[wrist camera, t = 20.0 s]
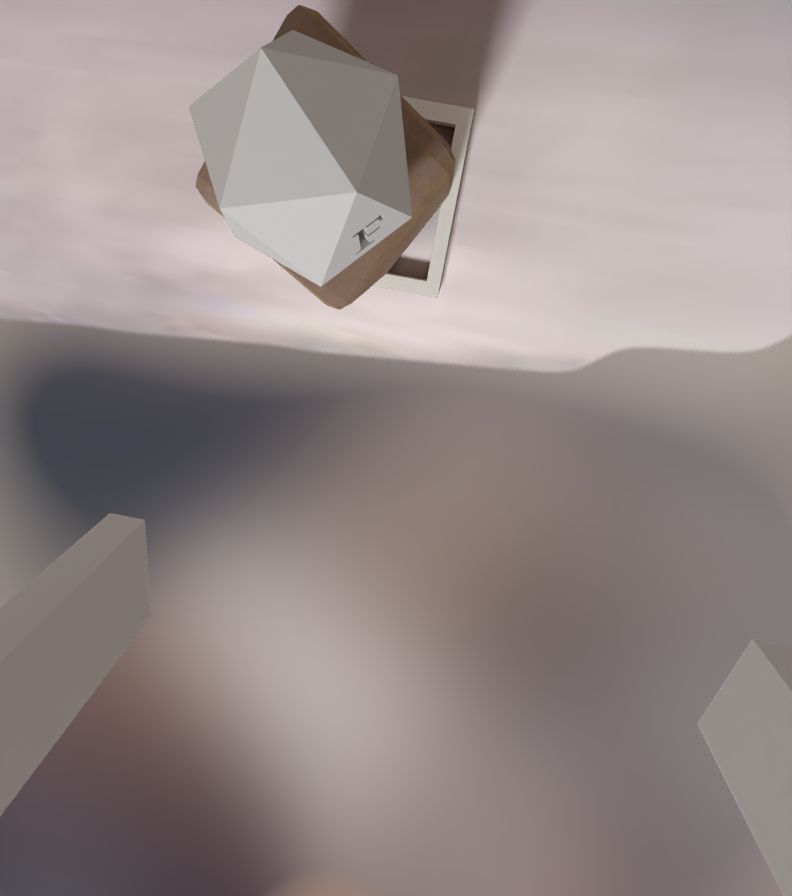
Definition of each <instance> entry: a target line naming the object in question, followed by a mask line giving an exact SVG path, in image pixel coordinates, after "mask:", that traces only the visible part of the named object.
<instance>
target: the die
mask: <svg viewBox="0 0 792 896" xmlns="http://www.w3.org/2000/svg"><path fill="white" fill-rule="evenodd" d="M189 108H190V112H191V115H192V118H193V122H194V125H195V128H196V132H197V135H198V138H199V142H200V145H201V148H202V152H203V155H204V158H205V162H206V165H207V168H208V172H209V175H210V178H211V182H212V185H213V188H214V192H215V195H216V198H217V202H218V205H219V208H220V210H221V212H222V214H223V216H224V218H225V220H226V221H227V223H228V225H229V227H230V229H231V230H232V232H233V234H234V236H235V237H236V238H238V239H239V240H241V241H243V242H245V243H246V244H248V245H250V246H251V247H253V248H255V249H257V250H258V251H260V252H262V253H263V254H265V255H267V256H269V257H270V258H272V259H274V260H275V261H277V262H279V263H281V264H282V265H284V266H286V267H287V268H289V269H291V270H293V271H294V272H296V273H298V274H300V275H301V276H303V277H305V278H306V279H308V280H310V281H312V282H313V283H315V284H317V285H318V286H320V287H321V286H323V285H324V284H325V283H327V282H328V281H329V280H330V279H332V278H333V277H334V276H336V275H337V274H338V273H340V272H341V271H342V270H344V269H345V268H346V267H348V266H349V265H350V264H352V263H353V262H354V261H355V260H357V259H358V258H359V257H361V256H362V255H363V254H365V253H366V252H367V251H369V250H370V249H371V248H373V247H374V246H375V245H377V244H378V243H379V242H380V241H382V240H383V239H384V238H386V237H387V236H388V235H390V234H391V233H392V232H394V231H395V230H396V229H398V228H399V227H400V226H402V225H403V224H404V223H405V222H407V221H408V220H409V219H411V218H412V209H411V199H410V189H409V179H408V169H407V159H406V149H405V139H404V129H403V119H402V109H401V99H400V89H399V79H398V75H396V74H394V73H392V72H390V71H387V70H385V69H383V68H380V67H378V66H376V65H373V64H371V63H369V62H366V61H364V60H362V59H359V58H357V57H355V56H352V55H350V54H348V53H345V52H343V51H341V50H338V49H336V48H334V47H332V46H329V45H327V44H325V43H322V42H320V41H318V40H315V39H313V38H311V37H308V36H306V35H304V34H301V33H299V32H297V31H294V30H291V31H290V32H288V33H286V34H284V35H283V36H281V37H279V38H277V39H276V40H274V41H272V42H270V43H269V44H267V45H265V46H263V47H262V48H260V49H259V50H258V51H257V52H255V53H254V54H253V55H252V56H250V57H249V58H248V59H247V60H245V61H244V62H243V63H242V64H241V65H239V66H238V67H237V68H236V69H234V70H233V71H232V72H231V73H229V74H228V75H227V76H226V77H224V78H223V79H222V80H221V81H219V82H218V83H217V84H216V85H215V86H213V87H212V88H211V89H210V90H208V91H207V92H206V93H205V94H203V95H202V96H201V97H200V98H198V99H197V100H196V101H195V102H193V103H192V104H191V105H190V106H189Z"/></svg>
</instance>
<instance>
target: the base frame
mask: <svg viewBox="0 0 792 896" xmlns="http://www.w3.org/2000/svg"><path fill="white" fill-rule="evenodd" d="M402 97H403V98H404V99H405V100H406V101H407V102H408V103H409V104H410V105H411V106H412V107H413V108H414V109H415V110H416V111H417V112H418V113H419V114H420V115H421V116H422V117H423V118H424V119H425V120H426V121H427V122H428V123H432V124H437V125H443V126H448V127H454V128H455V130H454V136H453V141H452V147H451V150H452V152H453V155H454V157H455V167H454V173H453V180H452V186H451V189H450V192H449V195H448V197H447V198H446V199H445V200H444V202H443V203H442V204H441V206H440V212H439V217H438V223H437V228H436V233H435V239H434V244H433V250H432V255H431V260H430V266H429V271H428V277H427V279H421V278H416V277H411V276H405V275H400V274H394V273H389V272H387V274H385V275H384V276H383V277H382V278H381V279H379V280H378V281H377V282H376V283H375V284H374V285H372V286H377V287H382V288H387V289H393V290H398V291H404V292H409V293H414V294H420V295H425V296H430V297H436V298H437V297H438V292H439V287H440V282H441V277H442V271H443V266H444V261H445V256H446V251H447V246H448V241H449V236H450V231H451V226H452V221H453V215H454V210H455V205H456V200H457V195H458V190H459V185H460V180H461V175H462V170H463V164H464V159H465V154H466V149H467V144H468V139H469V134H470V129H471V124H472V119H473V114H474V109H472V108H467V107H461V106H456V105H450V104H445V103H439V102H434V101H428V100H423V99H417V98H412V97H406V96H402ZM281 269H284V268H282V267H281Z"/></svg>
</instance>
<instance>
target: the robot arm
mask: <svg viewBox="0 0 792 896" xmlns="http://www.w3.org/2000/svg"><path fill="white" fill-rule="evenodd" d="M150 616H151V613H150V598H149V581H148V565H147V548H146V532H145V520H142V519H137V518H132V517H127V516H122V515H117V514H111V513H110V514H108V515H107V516H106V517H105V518H104V519H103V520H101V521H100V522H99V523H98V524H97V525H96V526H95V527H93V528H92V529H91V530H90V531H89V532H88V533H86V534H85V535H84V536H83V537H82V538H81V539H80V540H78V541H77V542H76V543H75V544H74V545H72V546H71V547H70V548H69V549H68V550H67V551H66V552H64V553H63V554H62V555H61V556H60V557H59V558H57V559H56V560H55V561H54V562H53V563H52V564H51V565H49V566H48V567H47V568H46V569H45V570H44V571H42V572H41V573H40V574H39V575H38V576H37V577H35V578H34V579H33V580H32V581H31V582H30V583H28V584H27V585H26V586H25V587H24V588H23V589H22V590H20V591H19V592H18V593H17V594H16V595H15V596H13V597H12V598H11V599H10V600H9V601H8V602H7V603H5V604H4V605H3V606H2V607H1V608H0V816H1V815H2V813H3V812H4V810H5V809H6V808H7V806H8V805H9V804H10V802H11V801H12V800H13V799H14V797H15V796H16V795H17V793H18V792H19V791H20V789H21V788H22V787H23V785H24V784H25V783H26V781H27V780H28V779H29V777H30V776H31V775H32V773H33V772H34V771H35V769H36V768H37V767H38V765H39V764H40V763H41V761H42V760H43V758H44V757H45V756H46V755H47V753H48V752H49V751H50V749H51V748H52V747H53V745H54V744H55V743H56V741H57V740H58V738H59V737H60V736H61V735H62V733H63V732H64V731H65V729H66V728H67V726H68V725H69V724H70V723H71V721H72V720H73V719H74V717H75V716H76V715H77V713H78V712H79V711H80V709H81V708H82V707H83V705H84V704H85V703H86V701H87V700H88V699H89V697H90V696H91V695H92V693H93V692H94V691H95V689H96V688H97V687H98V685H99V684H100V683H101V681H102V680H103V679H104V677H105V676H106V675H107V673H108V672H109V671H110V669H111V668H112V667H113V666H114V664H115V663H116V662H117V660H118V659H119V658H120V656H121V655H122V653H123V652H124V651H125V649H126V648H127V647H128V646H129V644H130V643H131V642H132V640H133V639H134V638H135V636H136V635H137V634H138V632H139V631H140V630H141V628H142V627H143V626H144V624H145V623H146V621H147V620H148V619H149V618H150ZM697 725H698V727H699V729H700V731H701V733H702V735H703V737H704V739H705V741H706V743H707V745H708V747H709V749H710V751H711V753H712V755H713V757H714V759H715V761H716V763H717V765H718V767H719V769H720V771H721V773H722V775H723V777H724V779H725V781H726V783H727V785H728V787H729V789H730V791H731V793H732V795H733V797H734V799H735V801H736V803H737V805H738V807H739V809H740V811H741V813H742V815H743V817H744V819H745V821H746V823H747V825H748V827H749V829H750V831H751V833H752V835H753V837H754V839H755V841H756V843H757V845H758V847H759V849H760V851H761V853H762V855H763V857H764V859H765V861H766V862H767V865H768V866H769V868H770V871H771V873H772V875H773V877H774V879H775V881H776V883H777V884H778V886H779V889H780V891H781V893H782V895H783V896H792V649H791V648H790V647H789V646H788V645H784V644H778V643H773V642H768V641H763V640H757V639H752V640H751V641H750V643H749V645H748V646H747V648H746V649H745V651H744V652H743V654H742V655H741V657H740V658H739V660H738V662H737V663H736V665H735V666H734V668H733V669H732V671H731V673H730V674H729V675H728V677H727V679H726V680H725V682H724V683H723V685H722V686H721V688H720V689H719V691H718V692H717V694H716V696H715V697H714V699H713V700H712V702H711V704H710V705H709V706H708V708H707V710H706V711H705V713H704V714H703V716H702V717H701V719H700V720H699V722H698V723H697Z"/></svg>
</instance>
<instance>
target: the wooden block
mask: <svg viewBox="0 0 792 896" xmlns="http://www.w3.org/2000/svg"><path fill="white" fill-rule="evenodd" d="M291 30H294V31H297V32H299V33H301V34H304V35H306V36H308V37H311V38H313V39H315V40H318V41H320V42H322V43H325V44H327V45H329V46H332V47H334V48H336V49H338V50H341V51H343V52H345V53H348V54H350V55H352V56H355V57H357V58H359V59H362V60H364V61H366V60H365V59H364V58H363V57H362V56H361V55H360V54H359V53H358V52H357V51H356V50H355V49H354V48H353V47H352V46H351V45H350V44H349V43H348V42H347V41H346V40H345V39H344V38H343V37H342V36H341V35H340V34H339V33H338V32H337V31H336V30H335V29H334V28H333V27H332V26H331V25H330V24H329V23H328V22H327V21H326V20H325V19H324V18H323V17H322V16H321V15H320V14H319V13H318V12H317V11H315V10H312V9H309V8H307V7H304V6H301V5H298V6H297V7H296V8H295V9H294V10H292V11H291V12H290V13H289V14H288V15H287V16H286V18H285V20H284V22H283V24H282V25H281V27H280V29H279V31H278V32H277V34H276V36H275V38H274V40H276V39H277V38H279V37H281V36H283V35H284V34H286V33H288V32H290V31H291ZM274 40H273V41H274ZM366 62H367V61H366ZM400 99H401V109H402V119H403V129H404V139H405V149H406V159H407V169H408V179H409V189H410V199H411V209H412V218H411V219H409V220H408V221H407V222H405V223H404V224H403V225H402V226H400V227H399V228H398V229H396V230H395V231H394V232H392V233H391V234H390V235H388V236H387V237H386V238H384V239H383V240H382V241H380V242H379V243H378V244H377V245H375V246H374V247H373V248H371V249H370V250H369V251H367V252H366V253H365V254H363V255H362V256H361V257H359V258H358V259H357V260H355V261H354V262H353V263H352V264H350V265H349V266H348V267H346V268H345V269H344V270H342V271H341V272H340V273H338V274H337V275H336V276H334V277H333V278H332V279H330V280H329V281H328V282H327V283H325V284H324V285H323V286H321V287H320V286H318V285H317V284H315V283H313V282H312V281H310V280H308V279H306V278H305V277H303V276H301V275H300V274H298V273H296V272H294V271H293V270H291V269H289V268H287V267H286V266H284V265H282V264H281V263H279V262H277V261H275V260H274V259H273V260H274V261H275V262H277V263H278V264H279V265H280V266H281V267H282V268H284V269H285V270H286V271H287V272H288V273H289V274H291V275H292V276H293V277H294V278H295V279H297V280H298V281H299V282H300V283H301V284H302V285H304V286H305V287H306V288H307V289H308V290H309V291H311V292H312V293H313V294H314V295H315V296H316V297H318V298H319V299H320V300H321V301H322V302H323V303H325V304H326V305H328V306H330V307H333V308H336V309H339V310H340V309H342V308H343V307H345V306H347V305H349V304H351V303H352V302H353V301H355V300H356V299H357V298H358V297H359V296H361V295H362V294H363V293H364V292H365V291H366V290H368V289H369V288H370V287H371V286H372V285H374V284H375V283H376V282H377V281H378V280H379V279H381V278H382V277H383V276H384V275H385V274H387V272H388V271H389V270H390V269H391V267H392V266H393V265H394V264H395V262H396V261H397V260H398V259H399V257H400V256H401V255H402V253H403V252H404V251H405V250H406V248H407V247H408V246H409V245H410V243H411V242H412V241H413V240H414V238H415V237H416V236H417V235H418V233H419V232H420V231H421V229H422V228H423V227H424V226H425V224H426V223H427V222H428V221H429V219H430V218H431V217H432V216H433V214H434V213H435V212H436V211H437V209H438V208H439V207H440V205H441V204H442V203H443V202H444V200H445V199H446V198H447V197H448V195H449V192H450V189H451V186H452V180H453V173H454V167H455V157H454V155H453V152H452V150H451V148H450V145H449V143H448V142H447V141H446V140H445V139H444V138H443V137H442V136H441V135H440V134H439V133H438V132H437V131H436V130H435V129H434V128H433V127H432V126H431V125H430V124H429V123H428V122H427V121H426V120H425V119H424V118H423V117H422V116H421V115H420V114H419V113H418V112H417V111H416V110H415V109H414V108H413V107H412V106H411V105H410V104H409V103H408V102H407V101H406V100H405V99H404V98H403V97H402V96H401V95H400ZM196 188H197V189H198V191H199V192H200V193H201V195H202V196H203V198H204V200H205V201H206V203H208V204H209V205H210V206H211V207H212V208H213V209H215V210H216V211H217V212H218V213H219V214H221V215H222V216H223V214H222V212H221V210H220V208H219V205H218V202H217V198H216V195H215V192H214V188H213V185H212V182H211V178H210V175H209V172H208V168H207V165H206V162H204V164H203V166H202V168H201V169H200V171H199V173H198V176H197V181H196ZM223 217H224V216H223Z"/></svg>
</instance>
